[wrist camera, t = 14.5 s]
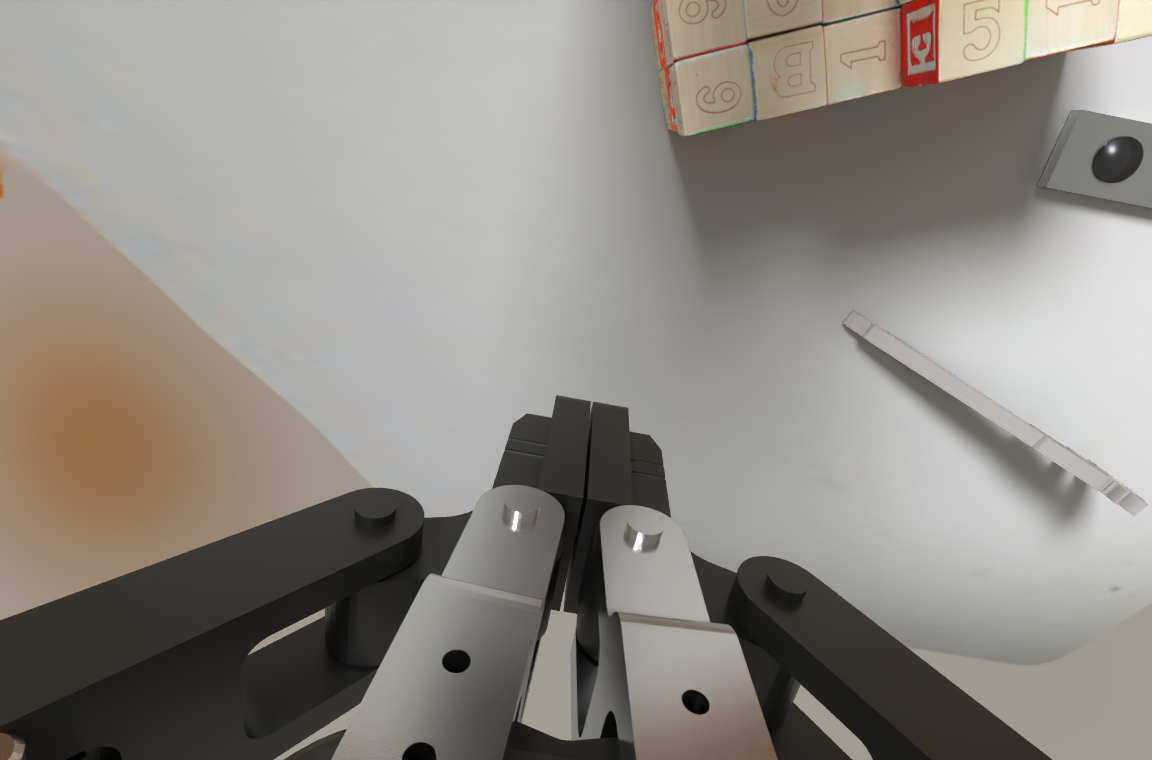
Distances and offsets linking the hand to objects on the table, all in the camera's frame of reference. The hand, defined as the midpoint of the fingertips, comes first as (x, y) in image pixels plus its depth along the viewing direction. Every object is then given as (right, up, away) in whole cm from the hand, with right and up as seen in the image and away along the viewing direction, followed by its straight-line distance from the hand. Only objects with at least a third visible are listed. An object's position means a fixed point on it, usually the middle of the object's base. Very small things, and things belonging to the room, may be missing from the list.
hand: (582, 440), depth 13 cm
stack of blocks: (+15, +20, +20) cm, 32 cm away
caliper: (+26, 0, +28) cm, 38 cm away
